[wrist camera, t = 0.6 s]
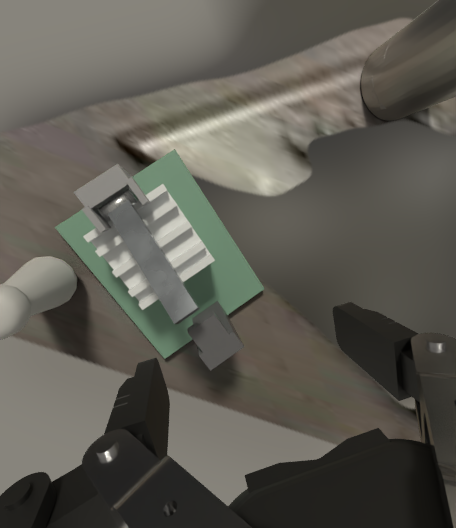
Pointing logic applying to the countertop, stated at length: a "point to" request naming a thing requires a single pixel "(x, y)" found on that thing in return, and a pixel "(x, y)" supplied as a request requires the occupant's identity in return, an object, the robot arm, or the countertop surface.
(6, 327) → the salt shaker
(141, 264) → the strap
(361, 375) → the countertop surface
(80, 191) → the heatsink base
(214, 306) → the block
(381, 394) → the countertop surface
